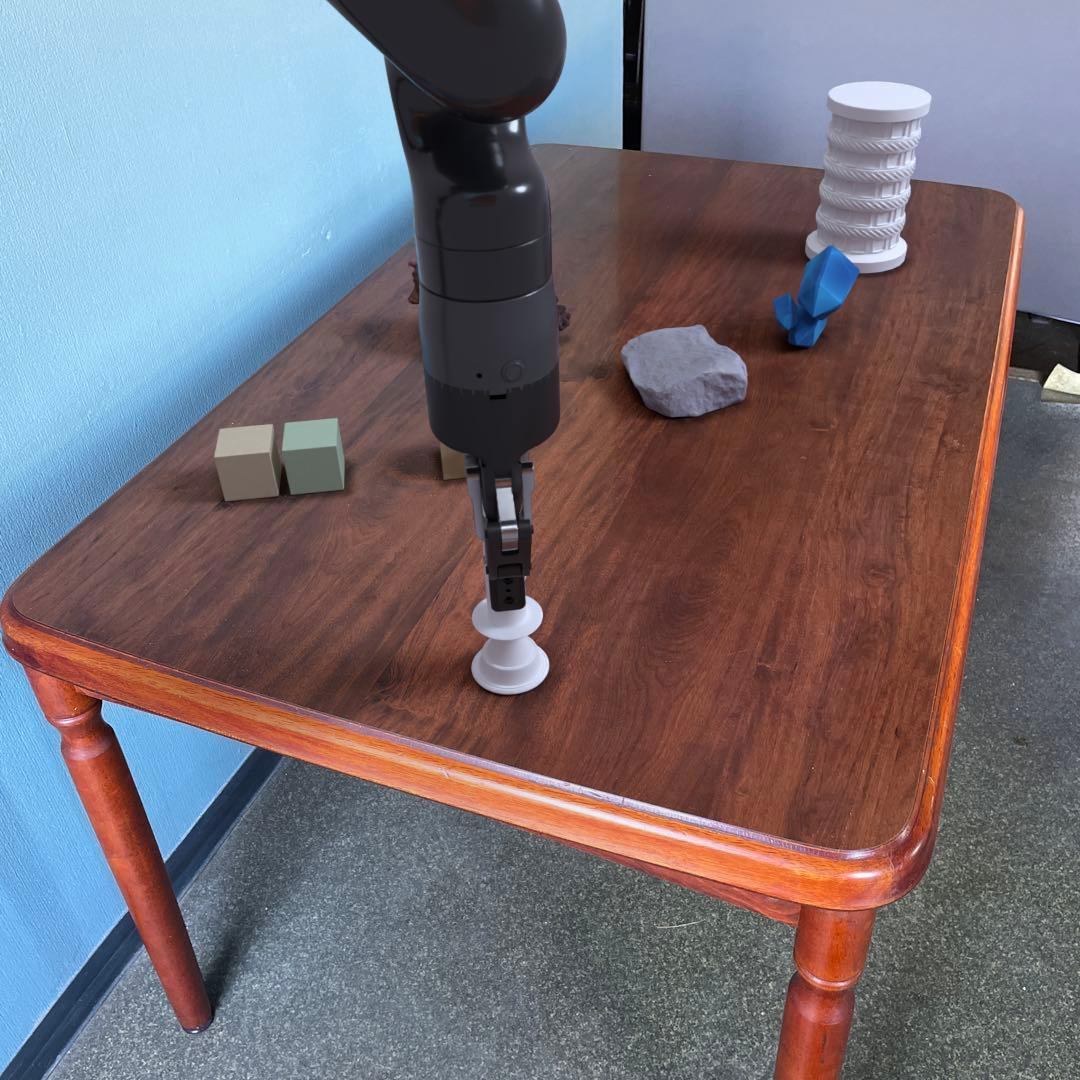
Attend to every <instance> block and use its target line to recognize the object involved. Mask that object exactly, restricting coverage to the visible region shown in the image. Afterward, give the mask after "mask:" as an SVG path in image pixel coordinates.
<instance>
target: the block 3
mask: <svg viewBox="0 0 1080 1080" xmlns="http://www.w3.org/2000/svg"><path fill="white" fill-rule="evenodd" d="M439 449H440V458H441V459H440V460H441V468H442V469H441V470H442V479H443V480H444V481H447V480H456V479H466V471H465V467H464V460H463V453H461V452H458V451H455V450H453V449H451V448H449V447H447V446H445V445H444V444H443V443H441V442H440V441H439Z"/></svg>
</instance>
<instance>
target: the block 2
mask: <svg viewBox="0 0 1080 1080" xmlns="http://www.w3.org/2000/svg"><path fill="white" fill-rule="evenodd" d="M283 426H284V427H283V435H282V445H281V455H282V460H283V464H284V465H283V466H284V467H285V468H284V469H285V475H286V478H287V483H288V488H289V492H290V495H291V496H293V495H303V494H312V493H315V494H316V493H324V492H325V493H326V492H335V491H343V490H345V463H346V461H345V455H344V449H343V442H342V438H341V431H340V425H339V419H338V418H337V417H334V418H324V419H312V420H302V421H301V420H300V421H289V422H284V425H283Z"/></svg>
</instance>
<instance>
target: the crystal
mask: <svg viewBox="0 0 1080 1080" xmlns="http://www.w3.org/2000/svg"><path fill="white" fill-rule="evenodd" d="M860 274H861V273H860V272H859V268H858V267H856V266H855V265H854V264H853V263H852V262H851V261H850V260H849V259H848V258H847V257H846V256H845V255H844V254H843V253H842V252H841V251H840V250H838V249H837V248H836V247H834V246H832V245H829V246H828V247H827V248H825V249H824V250H823V251H822V252H820V253H819V254H818V255H817V256H815V257H814V258H813V259H812V260H810V259H809V260H808V262H806V264H805V267H804V270H803V275H802V279H801V282H800V286H799V290H798V294H797V297H796V302H797V303H796V302H795V300H794V297H793V296H792V294H791V293H785V294H783V295H780V296H779V297H776V298H775V299H773V300H772V306H773V310H774V314H775V319H776V321H777V323H778V325H779V327H780V329H781V331H784V332H785V331H788V337H787V338H788V339H787V342H788V344H789V346H796V347H802V348H807V349H810V348H812V347H813V346H814V345H815V344H816V342H817V340H818V339H819V337H820V335H821V334H822V332H823V331H824V329H825V328H826V326H827V323H828V317H829V316H831V315H832V314H833V313H835V312H836V311H838V310H839V309H840V308H842V306H843V305H844V303H845V301H846V299H847V296H848V295H849V294H850V291H851V290H852V287H853V286H854V284H855V282H856V280H857V278H858V276H859V275H860Z"/></svg>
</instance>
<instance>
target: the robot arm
mask: <svg viewBox="0 0 1080 1080" xmlns="http://www.w3.org/2000/svg"><path fill="white" fill-rule="evenodd" d="M325 2H327V3H328V4H329V5H330V6H331V7H332V8H333V9H334V10H335V11H336V12H337V13H338V14H339V15H340V16H341V17H342V18H344V20H346V22H347V23H349V24H350V25H351V26H352V27H353V29H355V30H356V31H357V32H358V33H359V34H360V35H362V37H363V38H365V40H367V41H368V42H369V43H370V44H371V45H372V46H373V47H374V48H375V49H376V50H377V51H378V52H379V53H381V54H382V55H383V62H384V67H385V74H386V79H387V84H388V89H389V93H390V98H391V103H392V108H393V112H394V116H395V121H396V125H397V131H398V135H399V139H400V142H401V147H402V151H403V154H404V158H405V162H406V168H407V171H408V175H409V182H410V183H409V184H410V188H411V197H412V198H411V199H412V224H413V225H412V227H413V235H414V245H415V246H414V247H415V254H416V261H417V266H418V275H419V289H420V291H419V304H418V328H419V338H420V347H421V359H422V366H423V368H422V369H423V375H424V376H423V377H424V386H425V395H426V405H427V415H428V423H429V428H430V430H431V432H432V434H433V435H434V437H435V438H436V439H437V440H438V441H439V443H440V442H441V443H443V444H444V445H445V446H447V447H449V448H451V449H453V450H455V451H458V452H461V453H463V460H464V467H465V471H466V478H465V480H466V488H467V494H468V497H470V501H471V506H472V510H473V511H472V513H473V522H474V523H473V525H474V531H475V536H476V538H477V539H479V540H481V541H482V542H483V541H484V544H485V556H484V555H483V556H482V559H483V565H484V564H486V566H485V569H486V575H488V577H489V590H490V602H491V608H492V610H494V611H496V612H503V611H512V610H520V609H522V608H524V607H525V605H526V596H527V595H526V596H525V593H526V579H525V576H526V577H530V576H531V571H532V570H533V568H532V567H533V565H532V548H533V547H532V546H533V535H534V534H535V530H534V523H533V506H532V504H533V503H532V494H533V492H534V491H535V490H536V482H535V481H536V480H535V468H534V467H535V466H534V462H533V460H531V459H530V451H531V450H533V449H534V448H536V447H538V446H540V445H542V444H543V443H545V442H546V441H547V440H548V439H550V438H551V437H552V435H553V434H554V433H555V432H556V431H557V429H558V426H559V424H560V421H561V388H560V385H561V384H560V383H561V382H560V341H559V340H560V339H559V336H560V335H559V332H560V331H558V308H557V305H558V303H557V301H556V296H557V295H556V291H555V284H554V275H553V247H552V244H553V243H552V241H553V240H552V209H551V197H550V190H549V185H548V181H547V178H546V175H545V173H544V171H543V169H542V167H541V165H540V163H539V161H538V159H537V158H536V156H535V154H534V152H533V150H532V146H531V145H530V141H529V136H528V132H527V124H526V116H528V115H529V114H531V113H533V112H534V111H536V110H538V108H539V107H541V106H542V104H544V103H545V101H546V100H547V99H548V98H549V97H550V95H551V94H552V92H553V91H554V90H555V88H556V86H557V84H558V82H559V81H560V79H561V76H562V73H563V70H564V67H565V64H566V63H565V62H566V58H567V50H568V49H567V47H568V41H567V40H568V38H567V27H566V21H565V17H564V14H563V13H564V12H563V10H562V7H561V4H560V1H559V0H325ZM485 569H484V570H485Z"/></svg>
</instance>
